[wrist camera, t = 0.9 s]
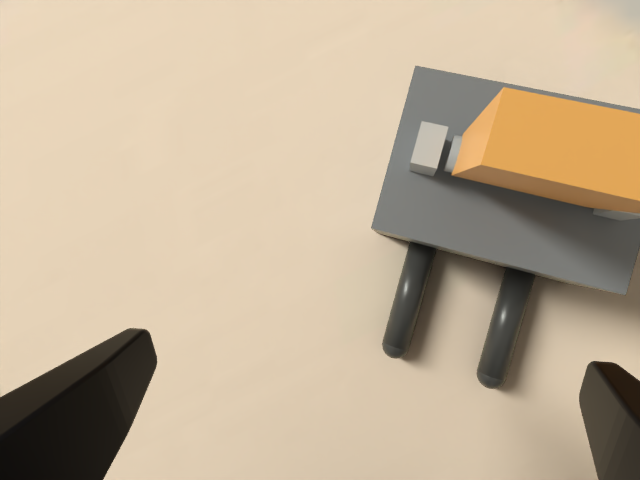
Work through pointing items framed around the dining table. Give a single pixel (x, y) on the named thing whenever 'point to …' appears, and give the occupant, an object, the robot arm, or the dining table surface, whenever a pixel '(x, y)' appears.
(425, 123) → the switch box
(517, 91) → the toggle lever
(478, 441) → the dining table surface
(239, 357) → the dining table surface
